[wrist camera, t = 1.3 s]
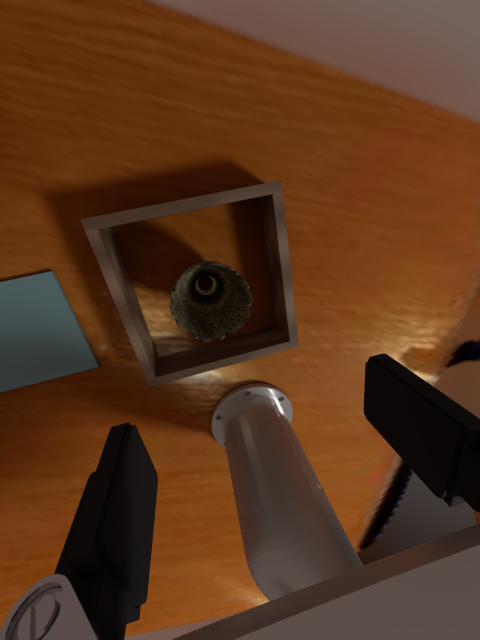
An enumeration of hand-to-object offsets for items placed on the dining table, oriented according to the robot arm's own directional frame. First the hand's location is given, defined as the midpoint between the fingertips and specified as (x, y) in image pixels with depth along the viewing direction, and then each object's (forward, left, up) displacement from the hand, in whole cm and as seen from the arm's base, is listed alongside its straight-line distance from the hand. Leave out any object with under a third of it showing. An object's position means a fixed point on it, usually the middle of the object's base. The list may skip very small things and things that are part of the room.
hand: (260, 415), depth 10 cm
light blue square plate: (-1, +22, -22) cm, 31 cm away
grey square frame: (0, +1, -22) cm, 23 cm away
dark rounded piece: (0, +1, -23) cm, 23 cm away
